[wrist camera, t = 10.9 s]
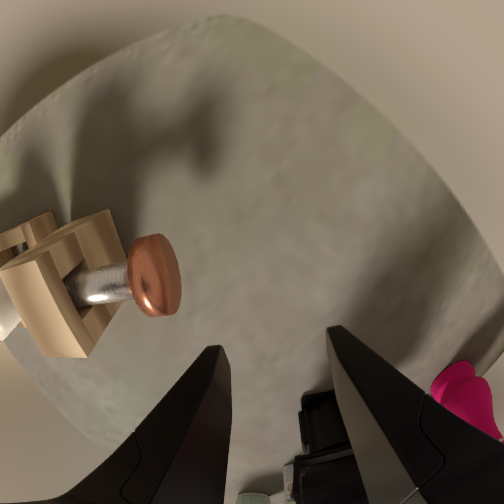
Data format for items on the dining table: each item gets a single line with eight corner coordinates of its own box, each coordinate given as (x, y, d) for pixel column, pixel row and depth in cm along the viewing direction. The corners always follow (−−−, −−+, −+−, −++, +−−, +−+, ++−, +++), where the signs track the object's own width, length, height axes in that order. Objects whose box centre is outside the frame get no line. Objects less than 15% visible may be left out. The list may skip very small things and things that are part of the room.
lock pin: (164, 222, 14) (136, 254, 11) (186, 287, 16) (169, 332, 12) (54, 252, 15) (18, 281, 12) (78, 303, 17) (49, 338, 13)
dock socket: (103, 190, 18) (24, 233, 10) (142, 297, 21) (99, 375, 13) (-1, 234, 19) (-58, 273, 11) (34, 311, 22) (-10, 362, 15)
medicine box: (327, 469, 35) (333, 511, 28) (304, 476, 37) (307, 517, 29) (308, 458, 33) (313, 507, 25) (281, 465, 34) (284, 512, 26)
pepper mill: (467, 347, 24) (541, 477, 6) (476, 370, 26) (534, 479, 8) (419, 385, 26) (474, 524, 8) (434, 402, 28) (480, 517, 10)
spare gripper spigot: (45, 241, 19) (-16, 287, 12) (64, 286, 21) (14, 340, 14) (18, 250, 20) (-36, 292, 12) (36, 291, 21) (-11, 339, 14)
